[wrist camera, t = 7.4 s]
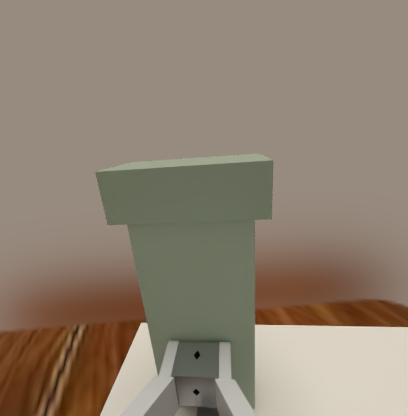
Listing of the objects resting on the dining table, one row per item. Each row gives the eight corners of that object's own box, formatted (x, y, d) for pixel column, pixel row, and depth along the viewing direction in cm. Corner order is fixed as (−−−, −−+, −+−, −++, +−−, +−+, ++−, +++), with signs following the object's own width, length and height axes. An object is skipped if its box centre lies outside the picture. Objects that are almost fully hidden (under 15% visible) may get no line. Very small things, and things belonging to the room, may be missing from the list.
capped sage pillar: (151, 414, 11) (95, 171, 7) (166, 358, 14) (131, 162, 10) (266, 421, 11) (273, 160, 7) (257, 361, 13) (258, 153, 9)
